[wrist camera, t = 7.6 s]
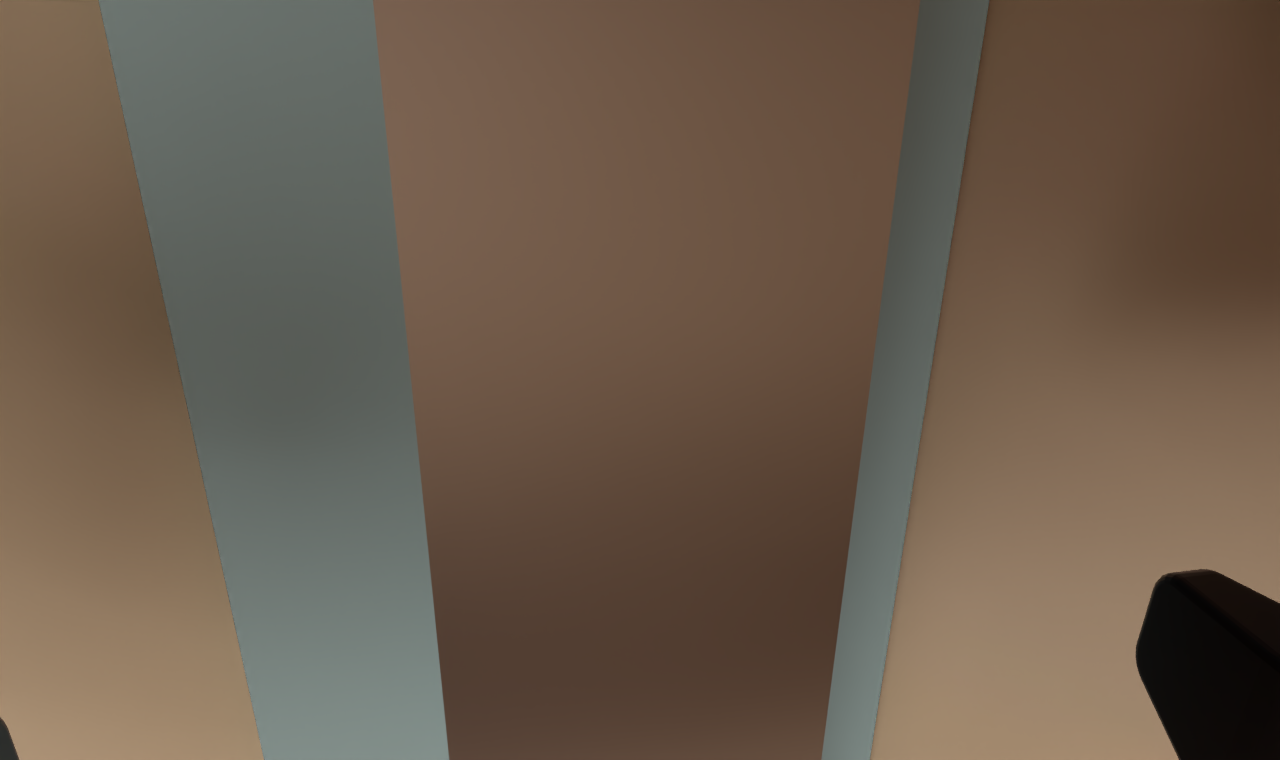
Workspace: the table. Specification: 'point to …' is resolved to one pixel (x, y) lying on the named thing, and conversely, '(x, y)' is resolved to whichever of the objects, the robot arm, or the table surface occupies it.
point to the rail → (641, 355)
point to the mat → (379, 362)
